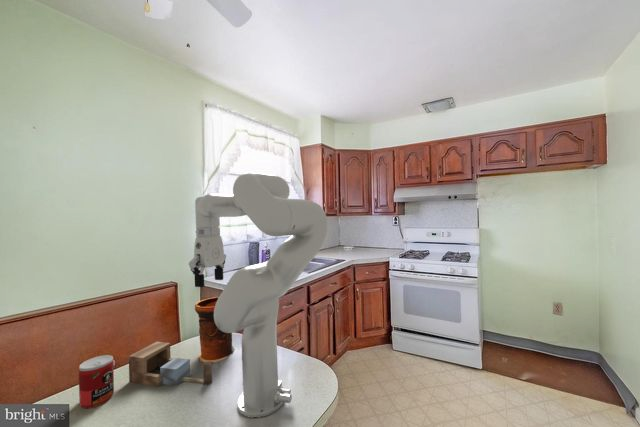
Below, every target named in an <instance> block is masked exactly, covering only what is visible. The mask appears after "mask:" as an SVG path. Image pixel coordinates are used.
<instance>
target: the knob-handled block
mask: <svg viewBox="0 0 640 427" xmlns="http://www.w3.org/2000/svg"><path fill="white" fill-rule="evenodd" d="M173 358H174V359H172V360H171V361H169V362H168V363H166V364H165V365H163V366H162V367H159V369H160V370H159V375H162V385H169V386H175V387H176V386H178V385H179V384H180V383H182V382H191V383H199V384H203V385H204V386H208V385H210V384H212V383H213V373H212V362H210V361H208V362H203V363H202V371H203V372H202V373H203V377H202V378H197V377H196V378H194V377H189V376H190V375H191V359H189V358H179V357H173Z"/></svg>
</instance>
